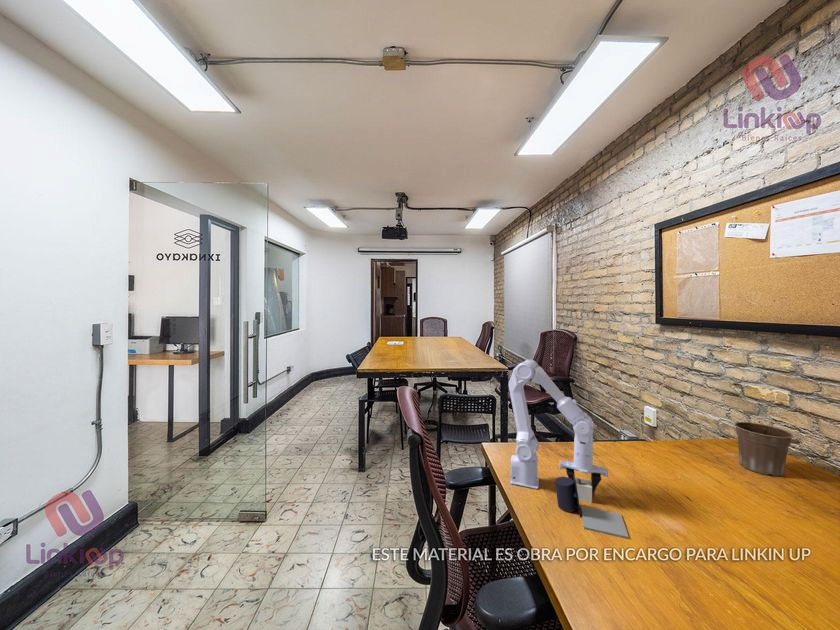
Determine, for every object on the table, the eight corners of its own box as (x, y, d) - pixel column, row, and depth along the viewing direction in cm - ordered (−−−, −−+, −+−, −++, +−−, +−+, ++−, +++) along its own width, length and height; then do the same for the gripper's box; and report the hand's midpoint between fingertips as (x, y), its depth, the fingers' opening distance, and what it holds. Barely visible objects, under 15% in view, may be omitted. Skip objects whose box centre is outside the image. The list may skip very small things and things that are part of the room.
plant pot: (796, 472, 128) (797, 431, 128) (788, 484, 119) (789, 440, 119) (739, 456, 142) (740, 419, 141) (728, 466, 133) (729, 426, 132)
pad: (584, 528, 94) (584, 526, 94) (580, 507, 104) (580, 505, 104) (628, 538, 90) (628, 537, 90) (620, 515, 100) (620, 513, 100)
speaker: (585, 508, 104) (582, 475, 104) (581, 517, 99) (577, 483, 99) (560, 501, 108) (557, 470, 109) (555, 510, 104) (551, 477, 104)
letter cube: (574, 499, 109) (575, 483, 109) (573, 491, 113) (574, 476, 113) (591, 502, 107) (592, 487, 107) (590, 494, 112) (590, 479, 111)
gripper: (560, 453, 109) (559, 494, 109) (610, 461, 103) (609, 504, 104) (559, 445, 115) (559, 483, 116) (606, 452, 110) (605, 492, 110)
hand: (582, 492), depth 110 cm, fingers closed on letter cube, 5 cm apart
